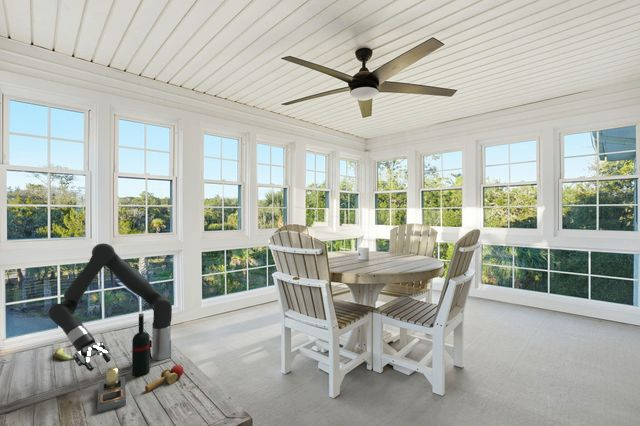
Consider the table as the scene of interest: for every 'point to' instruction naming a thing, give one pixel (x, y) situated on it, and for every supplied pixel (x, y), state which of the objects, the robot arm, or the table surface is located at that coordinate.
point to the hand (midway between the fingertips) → (101, 365)
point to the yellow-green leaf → (63, 354)
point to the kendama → (166, 377)
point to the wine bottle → (141, 351)
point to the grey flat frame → (111, 396)
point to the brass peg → (111, 378)
